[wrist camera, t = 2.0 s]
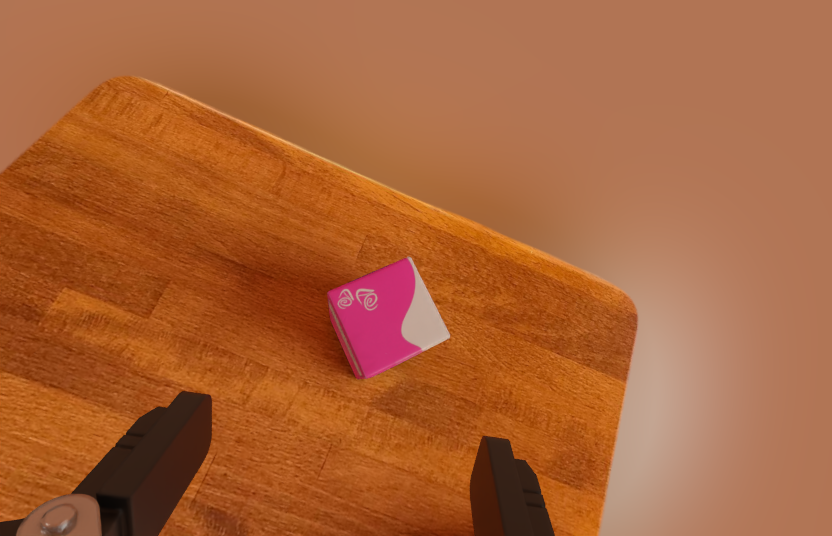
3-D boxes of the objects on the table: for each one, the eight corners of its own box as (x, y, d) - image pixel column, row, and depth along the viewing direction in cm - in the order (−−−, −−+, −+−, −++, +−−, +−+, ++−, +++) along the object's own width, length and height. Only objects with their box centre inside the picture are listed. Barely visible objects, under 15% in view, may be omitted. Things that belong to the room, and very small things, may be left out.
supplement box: (389, 287, 38) (414, 253, 27) (419, 350, 37) (456, 341, 26) (327, 315, 36) (325, 290, 25) (356, 381, 36) (367, 385, 25)
